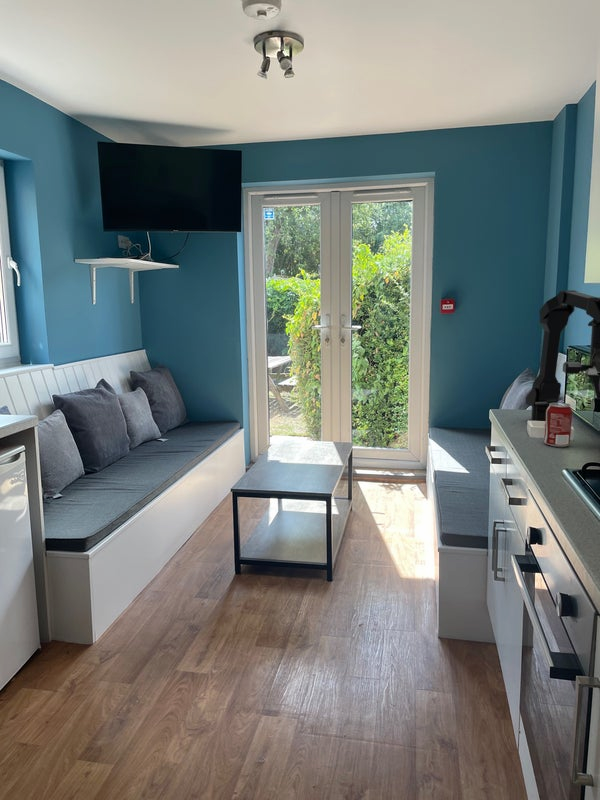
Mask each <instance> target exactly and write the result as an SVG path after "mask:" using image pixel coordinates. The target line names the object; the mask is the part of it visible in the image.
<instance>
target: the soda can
mask: <svg viewBox="0 0 600 800" xmlns="http://www.w3.org/2000/svg"><path fill="white" fill-rule="evenodd" d="M572 419H573V410H572V409H571V404H570V403H565V402H558V403H549V407H548V408H547V409H546V422H545V436H544V438H543V439H544V440H543V443H544V444H546V445H547V446H549V445H550V447H553V448H566V447H568V446H570V445H571V444H570V443H571V440H570V435H571V426H572V422H573V421H572Z"/></svg>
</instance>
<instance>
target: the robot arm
mask: <svg viewBox="0 0 600 800" xmlns="http://www.w3.org/2000/svg"><path fill="white" fill-rule="evenodd" d="M575 308H577V309H580V310H583V311H585V312H586V313H585V314H586V315H587V316H589V317H590V318H592V320H591V321H589V322H588V323H587V326H588V327H591V336H590V337H591V338H590V346H589V350H590V351H589V362H588V364H582V363H580V362H579V361H564V362H563V363H562V372H563V373H564V374H580V373H581V372H584V373H583V375H584V376H586V377H588V379H589V381H590V383H591V386H592V388H593V392H594V396H595V398H596V399H597V400H600V375H599V374H598V373H600V297H599V296H593V295H589V294H586V293H582V292H580V291H577V290H573V289H572V290H571V289H570V290H569V289H568V290H561V291H559V292H558V293H557V294H556V295H555V296H553V297H552V298H549V300H546V302H545V303H544V304H543V305H542V307H541V308H540V310H539V323H540V325H541V327H542V329H543V340H542V347H541V348H542V349H541V358H540V366H539V374H538V376H537V377H536V378H535V379H534V381H533V382H532V387H531V390H530V391H529V392H528V394H527V395H526V397H525V404H526V405H528V406H529V407H531V415H530V418H529V419H528V421H546V409H547V408H548V407H549V403H559V400H560V396H561V387H562V383H561V382H559V381H558V379H557V377H556V376H557V375H556V374H557V368H558V367H557V366H558V359H559V350H560V341H561V336H562V332H563V330H565V329H566V328H565V327H566V326H568V323H569V319H570V317H571V316H572V314H573V313H574V312H575V311H576V310H575Z"/></svg>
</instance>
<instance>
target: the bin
mask: <svg viewBox="0 0 600 800" xmlns="http://www.w3.org/2000/svg"><path fill="white" fill-rule="evenodd" d="M545 422H546V421H529V420H527V423H526V425H527V426H526V432H527V433H528V436H529V437H530V438H538V439H544V436H545V427H544V425H545ZM574 435H575V429H574V427H573V426H572V425H571V435H570V441H571V442H572V441H574Z"/></svg>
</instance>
